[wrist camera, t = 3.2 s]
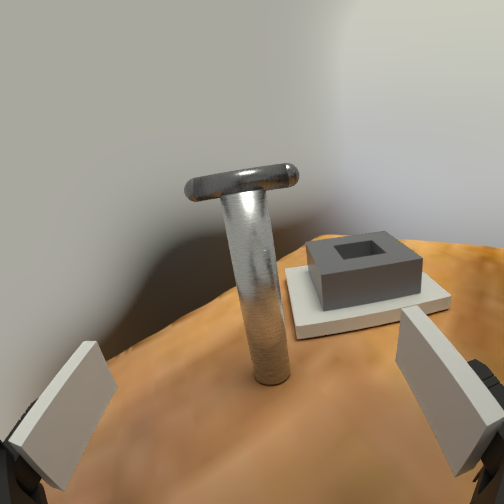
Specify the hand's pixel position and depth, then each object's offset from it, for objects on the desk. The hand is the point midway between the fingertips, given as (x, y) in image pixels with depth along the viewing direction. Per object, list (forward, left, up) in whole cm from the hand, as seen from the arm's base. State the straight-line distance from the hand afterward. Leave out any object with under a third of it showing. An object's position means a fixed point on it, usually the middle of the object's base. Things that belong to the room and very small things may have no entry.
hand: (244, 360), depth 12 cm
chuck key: (0, -10, -10) cm, 14 cm away
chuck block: (-11, -22, -10) cm, 27 cm away
